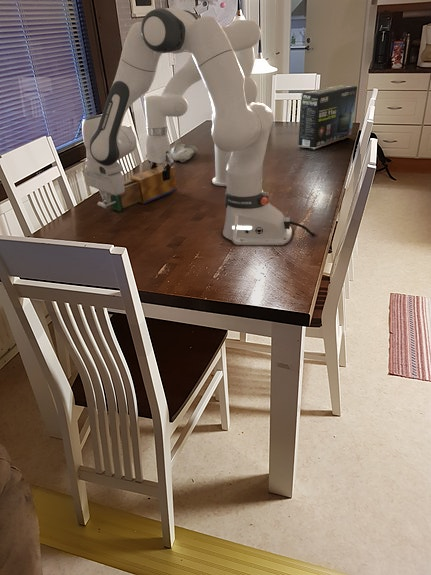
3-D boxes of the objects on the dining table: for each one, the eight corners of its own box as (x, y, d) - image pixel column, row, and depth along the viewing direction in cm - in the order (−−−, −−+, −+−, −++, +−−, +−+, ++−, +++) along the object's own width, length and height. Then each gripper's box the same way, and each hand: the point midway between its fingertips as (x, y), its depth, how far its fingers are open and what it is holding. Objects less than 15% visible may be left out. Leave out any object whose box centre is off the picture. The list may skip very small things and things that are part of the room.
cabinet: (144, 204, 176) (140, 180, 171) (134, 200, 180) (130, 177, 175) (177, 190, 186) (174, 167, 180) (167, 186, 190) (164, 164, 184)
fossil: (184, 156, 217) (163, 136, 220) (174, 174, 223) (154, 154, 227) (205, 153, 231) (186, 134, 234) (195, 171, 237) (176, 152, 240)
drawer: (106, 216, 166) (102, 196, 162) (98, 213, 169) (94, 193, 165) (152, 197, 179) (149, 178, 174) (144, 194, 182) (141, 175, 177)
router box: (314, 151, 231) (318, 94, 217) (296, 148, 237) (299, 92, 224) (352, 138, 251) (358, 85, 238) (335, 135, 258) (340, 83, 245)
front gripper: (77, 160, 164) (83, 197, 172) (109, 171, 152) (115, 210, 159) (92, 157, 168) (98, 193, 175) (125, 167, 156) (130, 205, 163)
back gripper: (135, 130, 175) (140, 176, 185) (164, 136, 165) (168, 185, 174) (150, 126, 180) (154, 172, 189) (179, 132, 170) (182, 180, 179)
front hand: (106, 201), depth 167 cm, fingers closed
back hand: (161, 177), depth 182 cm, fingers closed on cabinet, 6 cm apart
